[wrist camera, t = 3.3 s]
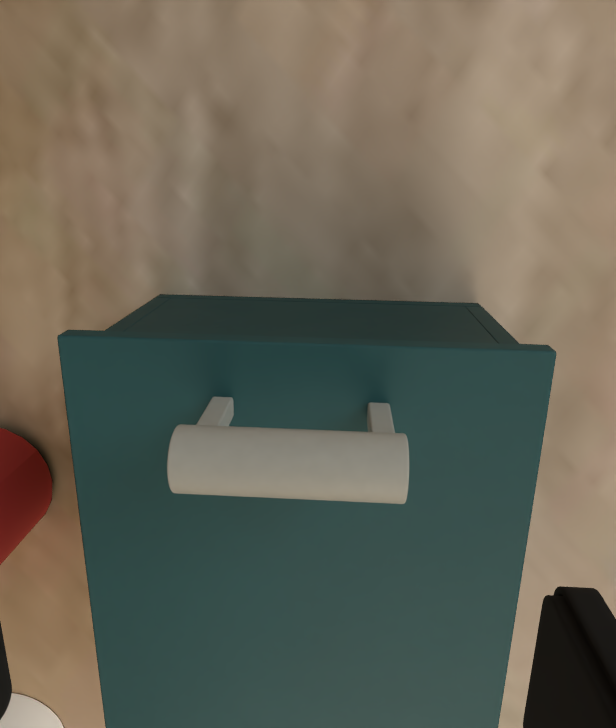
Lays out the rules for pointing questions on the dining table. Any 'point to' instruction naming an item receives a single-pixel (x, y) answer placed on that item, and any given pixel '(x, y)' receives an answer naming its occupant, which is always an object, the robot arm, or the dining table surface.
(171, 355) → the case lid
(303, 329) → the case
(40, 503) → the beer can
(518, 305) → the dining table surface
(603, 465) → the dining table surface
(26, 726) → the champagne flute
